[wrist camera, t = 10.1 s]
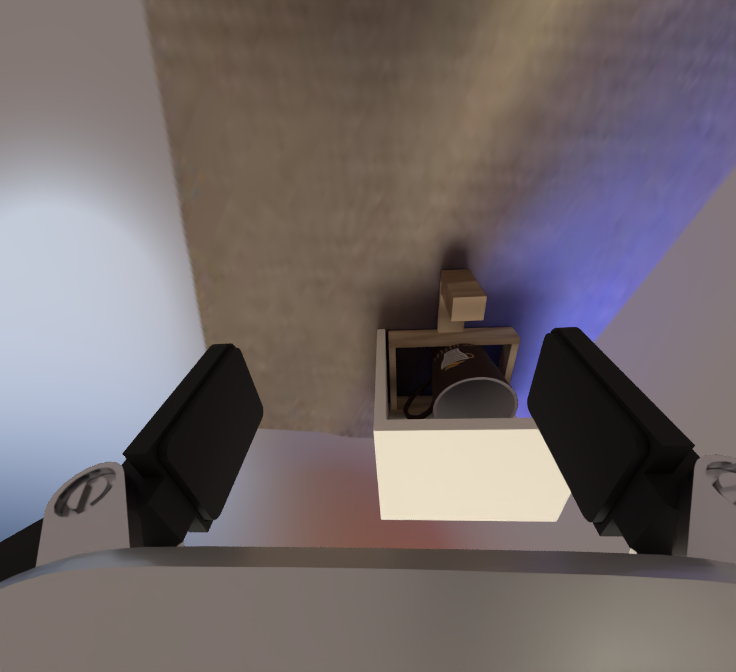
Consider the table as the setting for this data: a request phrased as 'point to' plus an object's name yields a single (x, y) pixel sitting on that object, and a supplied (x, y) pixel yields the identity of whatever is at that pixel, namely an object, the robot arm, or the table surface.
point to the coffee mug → (466, 386)
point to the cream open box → (461, 465)
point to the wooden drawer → (453, 332)
